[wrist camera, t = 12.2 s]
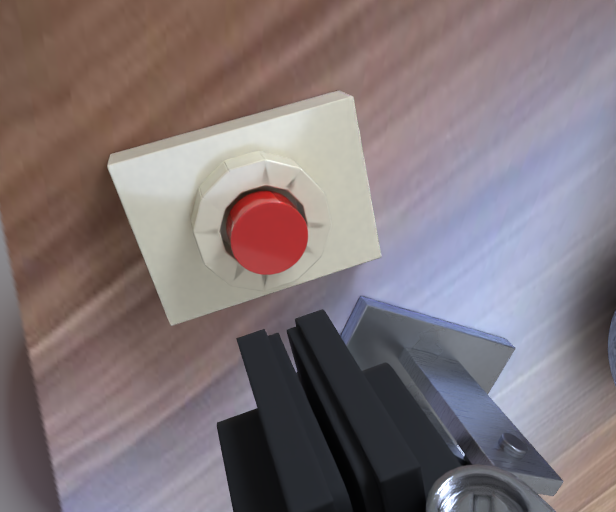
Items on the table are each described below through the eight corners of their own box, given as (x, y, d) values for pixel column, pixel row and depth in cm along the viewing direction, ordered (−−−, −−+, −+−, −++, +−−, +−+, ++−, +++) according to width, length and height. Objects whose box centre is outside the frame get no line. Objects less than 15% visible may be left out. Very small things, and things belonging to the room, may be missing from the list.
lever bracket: (302, 412, 37) (363, 572, 26) (360, 295, 34) (453, 422, 24) (446, 439, 41) (546, 586, 31) (506, 338, 39) (637, 461, 28)
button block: (169, 306, 31) (172, 345, 28) (109, 154, 27) (103, 176, 24) (368, 242, 33) (394, 271, 29) (339, 89, 29) (366, 101, 25)
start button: (237, 269, 27) (242, 285, 26) (216, 202, 26) (220, 215, 24) (306, 247, 28) (315, 261, 26) (290, 180, 26) (298, 191, 25)
